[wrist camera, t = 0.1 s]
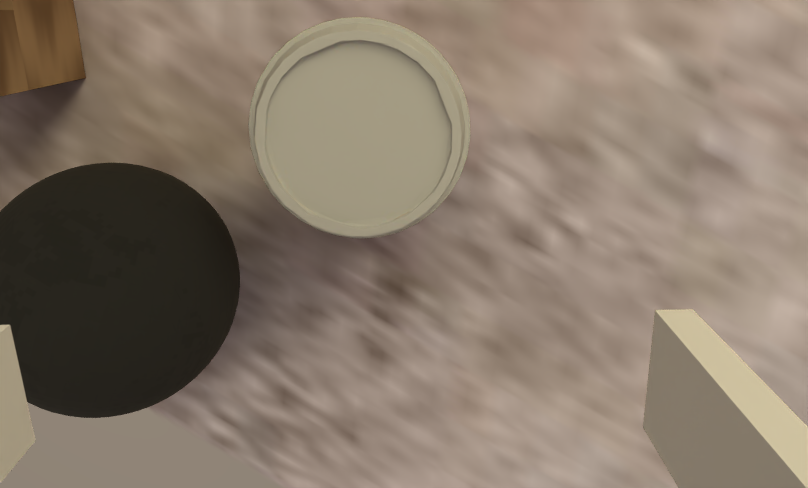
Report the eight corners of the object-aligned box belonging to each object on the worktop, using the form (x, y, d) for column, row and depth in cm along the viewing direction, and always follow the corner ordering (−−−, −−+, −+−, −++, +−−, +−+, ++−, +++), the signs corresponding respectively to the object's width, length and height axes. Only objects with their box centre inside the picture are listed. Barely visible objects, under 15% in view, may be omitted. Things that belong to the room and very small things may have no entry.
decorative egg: (15, 219, 42) (-178, 325, 28) (167, 96, 40) (41, 143, 26) (156, 365, 46) (46, 527, 31) (303, 259, 43) (258, 381, 29)
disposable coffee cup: (251, 98, 40) (194, 133, 29) (371, -23, 38) (360, -37, 27) (367, 214, 42) (356, 289, 31) (485, 105, 40) (520, 143, 29)
